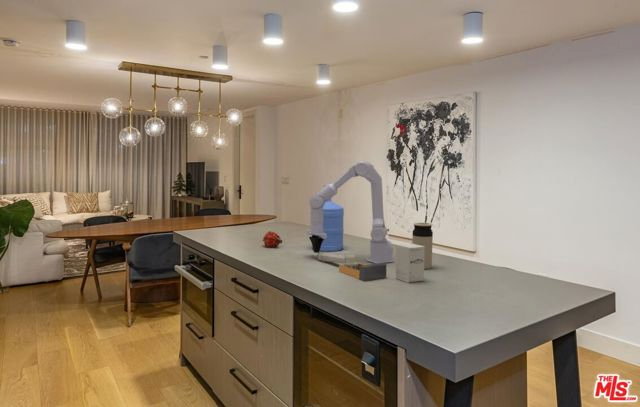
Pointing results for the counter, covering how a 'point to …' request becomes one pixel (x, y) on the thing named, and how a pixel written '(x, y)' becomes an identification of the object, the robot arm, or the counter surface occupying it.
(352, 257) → the electric toothbrush
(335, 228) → the water jug
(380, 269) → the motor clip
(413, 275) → the supplement box
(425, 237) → the travel mug
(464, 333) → the counter surface
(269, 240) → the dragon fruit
